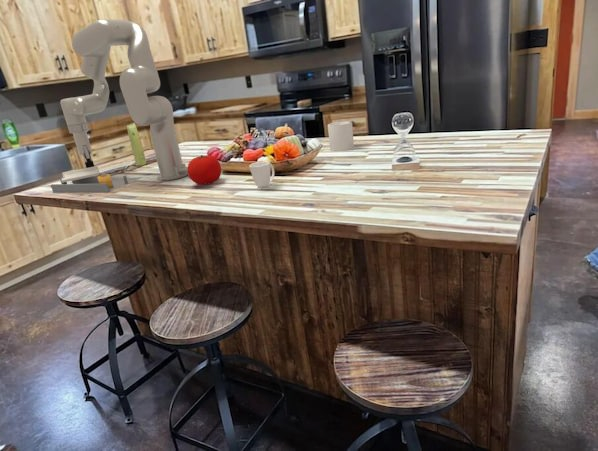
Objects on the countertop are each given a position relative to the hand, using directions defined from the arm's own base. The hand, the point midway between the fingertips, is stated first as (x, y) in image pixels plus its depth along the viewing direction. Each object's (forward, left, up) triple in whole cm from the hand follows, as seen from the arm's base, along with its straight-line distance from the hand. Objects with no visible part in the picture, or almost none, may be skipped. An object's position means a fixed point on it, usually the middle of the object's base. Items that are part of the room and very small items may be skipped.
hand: (91, 170), depth 184 cm
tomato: (-65, +8, -4) cm, 65 cm away
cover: (-2, +8, -4) cm, 9 cm away
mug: (-102, -41, -4) cm, 110 cm away
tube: (-6, -24, -4) cm, 25 cm away
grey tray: (-12, +9, -4) cm, 15 cm away
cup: (-91, +12, -4) cm, 92 cm away
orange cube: (-21, +13, -4) cm, 25 cm away
